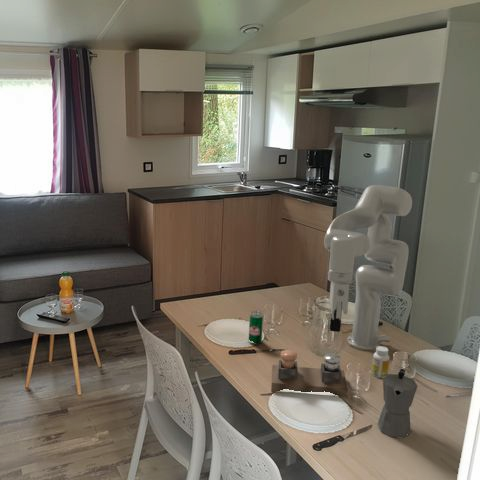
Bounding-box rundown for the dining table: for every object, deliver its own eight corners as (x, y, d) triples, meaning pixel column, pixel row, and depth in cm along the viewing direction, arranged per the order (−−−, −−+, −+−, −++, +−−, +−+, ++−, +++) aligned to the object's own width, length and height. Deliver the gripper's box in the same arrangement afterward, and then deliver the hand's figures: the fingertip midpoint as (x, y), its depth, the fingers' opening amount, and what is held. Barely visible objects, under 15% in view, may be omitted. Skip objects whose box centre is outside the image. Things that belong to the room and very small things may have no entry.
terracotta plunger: (295, 363, 177) (296, 350, 176) (296, 371, 172) (297, 358, 171) (280, 362, 178) (281, 349, 177) (280, 370, 173) (280, 356, 172)
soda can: (246, 343, 204) (248, 314, 201) (251, 338, 208) (252, 309, 205) (259, 345, 202) (261, 316, 199) (263, 340, 207) (265, 311, 204)
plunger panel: (342, 378, 181) (344, 361, 179) (347, 397, 170) (348, 378, 168) (272, 372, 183) (273, 355, 181) (271, 391, 171) (272, 372, 169)
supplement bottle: (387, 372, 187) (390, 346, 184) (387, 379, 182) (390, 353, 179) (371, 369, 188) (374, 344, 186) (370, 376, 183) (374, 350, 181)
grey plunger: (338, 367, 176) (339, 353, 175) (339, 375, 171) (341, 361, 170) (322, 365, 177) (323, 352, 176) (323, 373, 172) (324, 360, 171)
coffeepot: (408, 446, 147) (417, 387, 142) (373, 437, 150) (381, 379, 145) (413, 416, 161) (420, 362, 156) (381, 409, 164) (387, 355, 159)
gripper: (355, 284, 158) (349, 341, 163) (349, 269, 173) (344, 322, 177) (330, 282, 159) (324, 339, 163) (326, 267, 173) (321, 320, 178)
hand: (334, 330), depth 170 cm, fingers closed
